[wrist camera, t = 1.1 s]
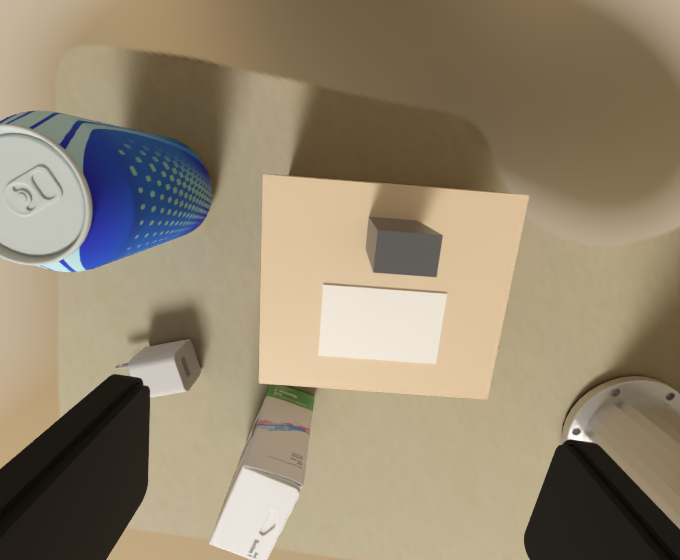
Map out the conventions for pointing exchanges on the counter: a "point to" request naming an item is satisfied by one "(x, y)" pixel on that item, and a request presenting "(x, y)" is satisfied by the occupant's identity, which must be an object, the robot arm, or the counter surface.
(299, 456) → the ink box
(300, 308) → the tan labeled panel
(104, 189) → the beer can
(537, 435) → the counter surface
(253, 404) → the counter surface
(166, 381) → the usb wall charger
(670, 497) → the robot arm
